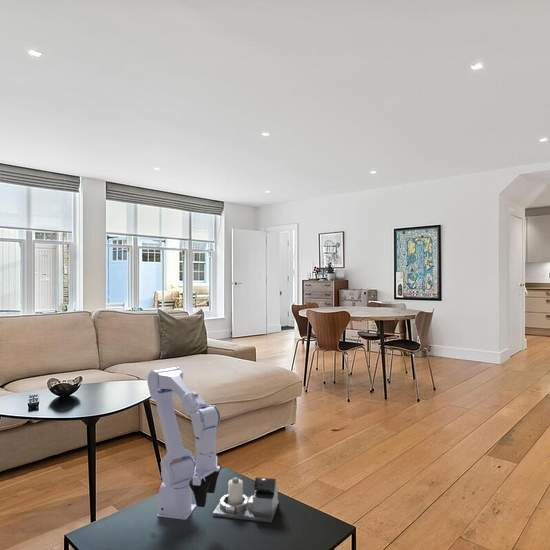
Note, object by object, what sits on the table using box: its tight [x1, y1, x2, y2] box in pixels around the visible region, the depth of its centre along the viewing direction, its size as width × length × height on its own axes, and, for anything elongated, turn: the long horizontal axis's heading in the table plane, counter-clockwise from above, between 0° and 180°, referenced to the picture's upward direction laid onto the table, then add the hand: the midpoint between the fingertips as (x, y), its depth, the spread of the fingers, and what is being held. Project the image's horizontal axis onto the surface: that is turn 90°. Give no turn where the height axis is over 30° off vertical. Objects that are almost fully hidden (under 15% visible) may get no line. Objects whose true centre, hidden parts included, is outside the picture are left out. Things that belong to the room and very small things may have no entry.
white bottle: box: [227, 477, 244, 506], centre depth 133 cm, size 4×4×8 cm
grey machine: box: [212, 476, 280, 523], centre depth 132 cm, size 18×11×10 cm, turn 79°
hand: (206, 499), depth 120 cm, fingers open, 7 cm apart
